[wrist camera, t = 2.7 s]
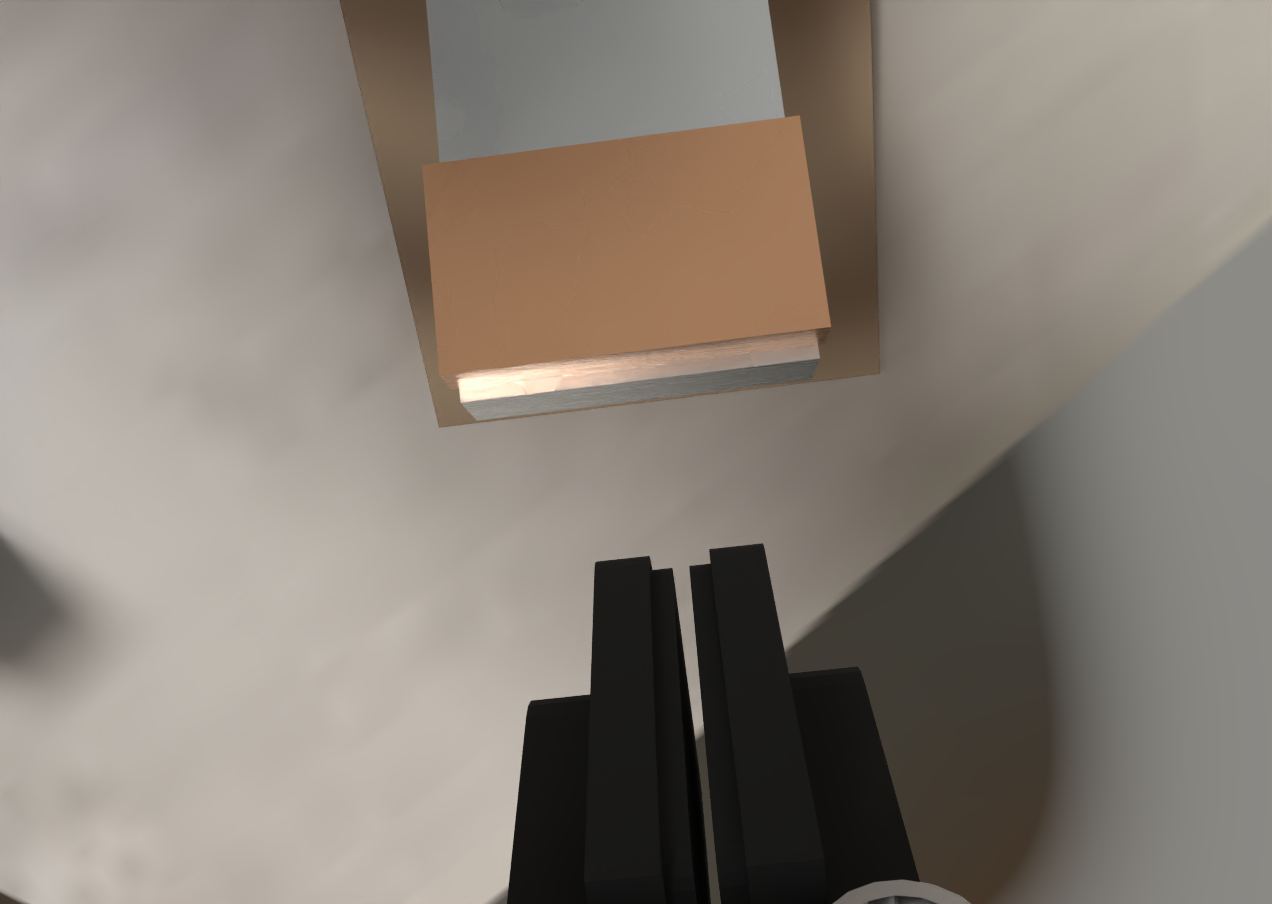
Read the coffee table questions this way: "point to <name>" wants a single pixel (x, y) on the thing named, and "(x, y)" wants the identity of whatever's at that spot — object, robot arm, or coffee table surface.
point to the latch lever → (616, 204)
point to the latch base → (811, 87)
